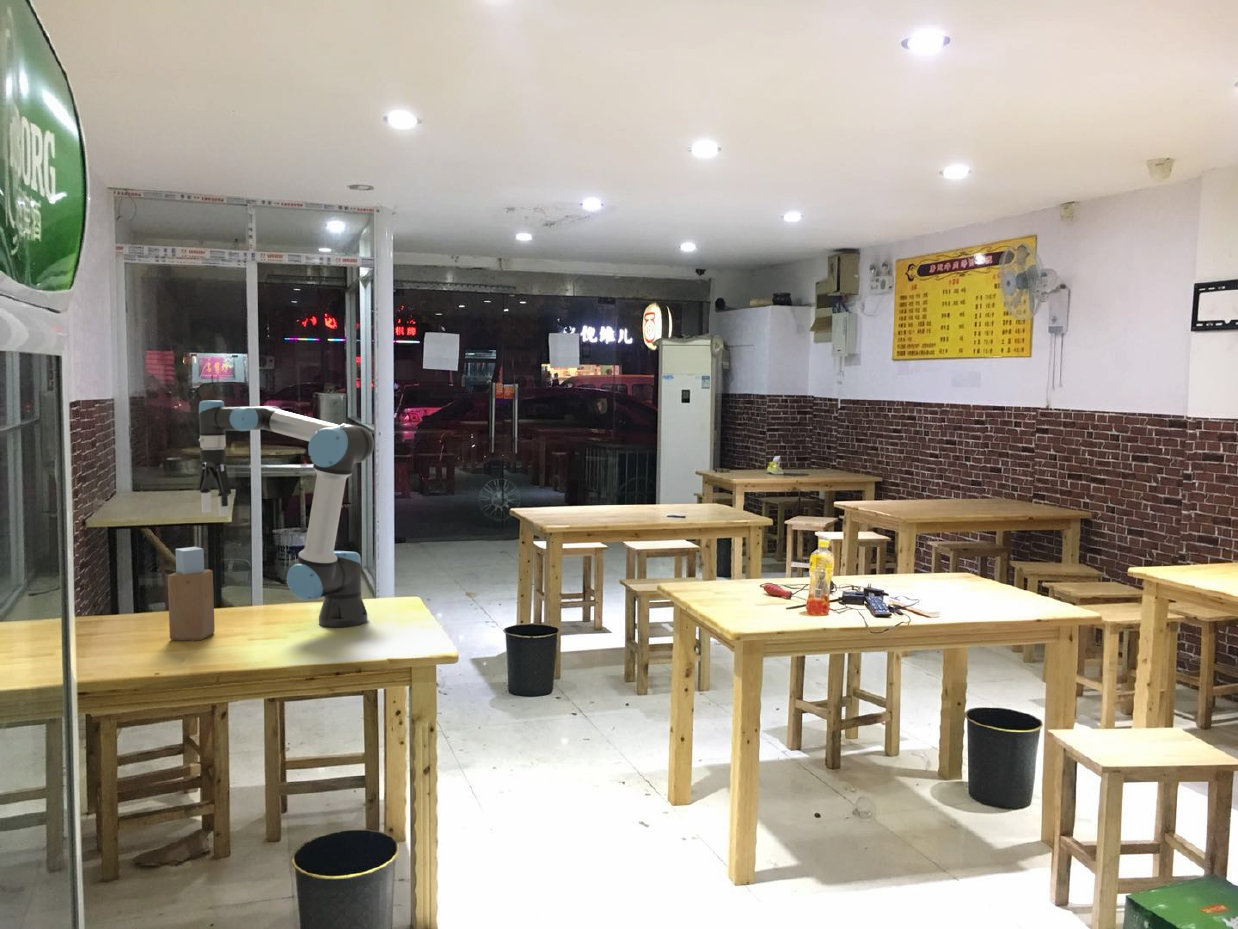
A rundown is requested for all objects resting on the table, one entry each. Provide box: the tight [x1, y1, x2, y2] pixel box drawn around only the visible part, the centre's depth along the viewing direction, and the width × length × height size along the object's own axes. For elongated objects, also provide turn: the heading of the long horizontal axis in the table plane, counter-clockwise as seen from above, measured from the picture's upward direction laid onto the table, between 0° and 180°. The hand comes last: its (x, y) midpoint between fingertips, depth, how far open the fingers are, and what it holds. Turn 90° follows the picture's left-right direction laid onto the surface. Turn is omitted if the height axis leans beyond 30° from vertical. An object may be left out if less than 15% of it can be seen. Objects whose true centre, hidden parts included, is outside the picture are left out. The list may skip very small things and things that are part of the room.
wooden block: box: [167, 568, 216, 641], centre depth 295 cm, size 10×10×20 cm
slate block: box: [175, 546, 205, 575], centre depth 294 cm, size 6×6×7 cm
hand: (215, 514), depth 313 cm, fingers open, 13 cm apart
